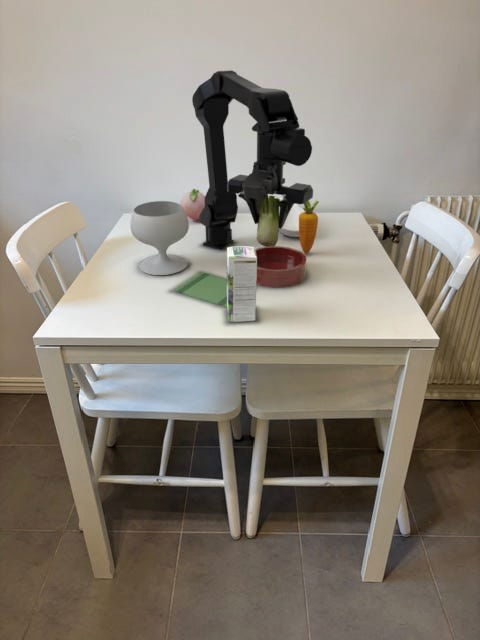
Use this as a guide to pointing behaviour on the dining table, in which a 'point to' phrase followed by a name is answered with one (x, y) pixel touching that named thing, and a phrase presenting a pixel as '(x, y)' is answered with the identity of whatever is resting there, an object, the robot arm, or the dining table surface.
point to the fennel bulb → (268, 221)
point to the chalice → (160, 234)
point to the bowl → (280, 266)
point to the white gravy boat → (292, 221)
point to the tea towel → (206, 288)
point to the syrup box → (241, 283)
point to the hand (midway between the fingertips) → (268, 225)
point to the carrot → (308, 226)
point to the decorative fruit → (193, 204)
